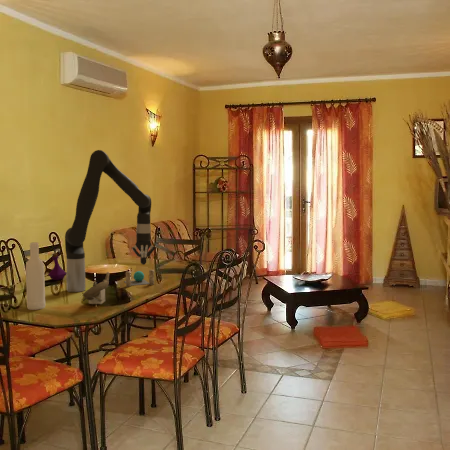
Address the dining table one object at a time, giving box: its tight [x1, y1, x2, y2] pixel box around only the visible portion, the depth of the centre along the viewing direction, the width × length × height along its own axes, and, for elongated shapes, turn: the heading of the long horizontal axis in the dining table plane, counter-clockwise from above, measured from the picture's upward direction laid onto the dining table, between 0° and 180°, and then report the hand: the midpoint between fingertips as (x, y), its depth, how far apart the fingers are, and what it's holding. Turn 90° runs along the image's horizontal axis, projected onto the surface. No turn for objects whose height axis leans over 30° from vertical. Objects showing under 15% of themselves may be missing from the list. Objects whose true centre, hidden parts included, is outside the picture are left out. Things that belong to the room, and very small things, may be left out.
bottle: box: [25, 242, 46, 311], centre depth 238 cm, size 8×8×30 cm
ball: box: [133, 270, 145, 282], centre depth 298 cm, size 6×6×6 cm
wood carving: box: [82, 271, 110, 305], centre depth 251 cm, size 9×35×11 cm, turn 175°
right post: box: [148, 269, 155, 286], centre depth 290 cm, size 3×3×8 cm
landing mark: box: [123, 279, 149, 287], centre depth 295 cm, size 12×12×1 cm
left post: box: [125, 271, 132, 288], centre depth 285 cm, size 3×3×8 cm
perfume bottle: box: [47, 248, 67, 281], centre depth 303 cm, size 8×8×18 cm
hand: (143, 264), depth 279 cm, fingers closed
